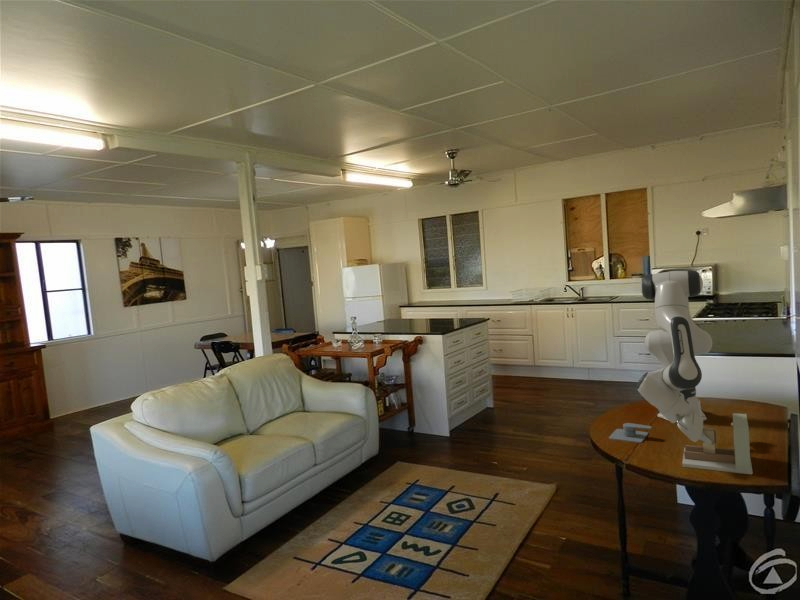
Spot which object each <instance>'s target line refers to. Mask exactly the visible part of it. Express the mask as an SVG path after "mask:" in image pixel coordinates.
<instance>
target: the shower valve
mask: <svg viewBox="0 0 800 600" xmlns="http://www.w3.org/2000/svg"><path fill="white" fill-rule="evenodd" d="M652 428H653V426H650V425H646V424H645V425H644V424H640V423H639V424H638V423H633V422H632V423H631V422H625V423H623V424H622V428H616V429H615V430H614V431H613V432H612V433H611V434H610V436H608V439H609V440H613V441H619V440H620V441H621V442H626V441H627V442H629V443H634V442H635V443H634V444H642V443H643V442H644V440H645V439H646V438H647V436H648V435H649V432H648V431H642V430H641V429H643V430H651V429H652ZM636 429H639V430H636ZM640 430H641V431H640ZM645 437H646V438H645ZM627 442H626V443H627Z"/></svg>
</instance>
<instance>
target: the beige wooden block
mask: <svg viewBox="0 0 800 600" xmlns="http://www.w3.org/2000/svg"><path fill="white" fill-rule="evenodd" d="M716 431H717V430H715V428H711V427H705V428H703V433H704V435H705V436H707V437H709V438H710V439H711V440H712V443H711V444H710V445H707V444H706V443H705V442H704V441H702V447H703V453H712V454H715V448H716V444H717V436H716V435H717V434H716Z"/></svg>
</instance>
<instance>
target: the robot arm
mask: <svg viewBox="0 0 800 600" xmlns="http://www.w3.org/2000/svg"><path fill="white" fill-rule="evenodd" d="M703 287H704V282H703V278H702V276H701V275H700V273H699V272H698V271H697V270H692V269H688V270H669V271H665V272H657V273H649V274H645V275H643V277H642V278H641V281H640V285H639V290H640V293H641V295H642V297H644V298H645V299H646V300H649V301H654V315H655V316H654V317H655V322H656V324H657V327H658V328H659V329H657V330H652V331H648V333H647V334H646V336H645V338H644V346H645V348H646V350H647V351H648V352H649V353H650V354H651V355H653V356H654V357H655V358H657V359H658V361H659V362H660V364H661V365H662V367H661V368H659V369H658V370H654V371H647V372H645V373H644V374H643V375H642V376H641V377H640V379H639V380H638V381H637V383H636V390H637V391H638V393H639V394H640V396H641V397H643V399H644V400H646V401H647V402H648V404H650V405H651V406H653V407H655V408H656V409H657V410H658V412H659V413H657V417H658V418H661V419H664V420H666V421H669V422H670V423H671V424H675V423H676V424H677V427H678V429H679V430H680V431H681V432H682V433H683V434H684V436H686V437H687V439H689V440H690V441H692V442H694V443H696V442H698V441H699V440H700V441H702V442H703V441H704V442H705V443H706V444H707V445H710V444H711V443H712V440H711V439H710V438H709V437H707V436H705V435H704V433H703V428H706V427H705V426H704V421H707V419H708V418H707V417H706V415H705V413H704V412H703V411H702V407H701V400H700V399H699V398H697V396H696V395H697V389H696V387H697V386H698V385H699V384H700V383H701V380H702V379H703V378H702V377H703V375H702V373H703V372H702V369H701V368H700V365H699V363H698V361H697V360H696V356H701V355H707V354H708V353H710V352H711V350H712V347H713V338H712V336H711V335H710V334H709V333H708V332H707V331H706V330H704V329H701V328H700V327H699V326H698V325H697V324H696V323H695V322H694V320H693V319H692V315H691V311H690V304H689V302H690V301H689V298H693V297H697V296H698V295H700V294H701V292H702V290H703Z"/></svg>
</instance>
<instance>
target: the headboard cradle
mask: <svg viewBox="0 0 800 600" xmlns="http://www.w3.org/2000/svg"><path fill="white" fill-rule="evenodd" d="M732 423H733V426H732V428H733V430H732V431H733V449H731V448H720V447H715V454H712V453H703V445H691V444H690V445H688V444H685V445H684V449H683V455H682V466H681V467H682V468H691V469H700V470H708V471H717V472H727V473H733V474H734V473H735V474H743V475H744V474H745V475H752V474H753V467H752V461H751V452H750V451H751V450H750V448H751V447H749V446H750V442H749V441H750V427H749V422H748V417H747V413H732Z"/></svg>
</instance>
